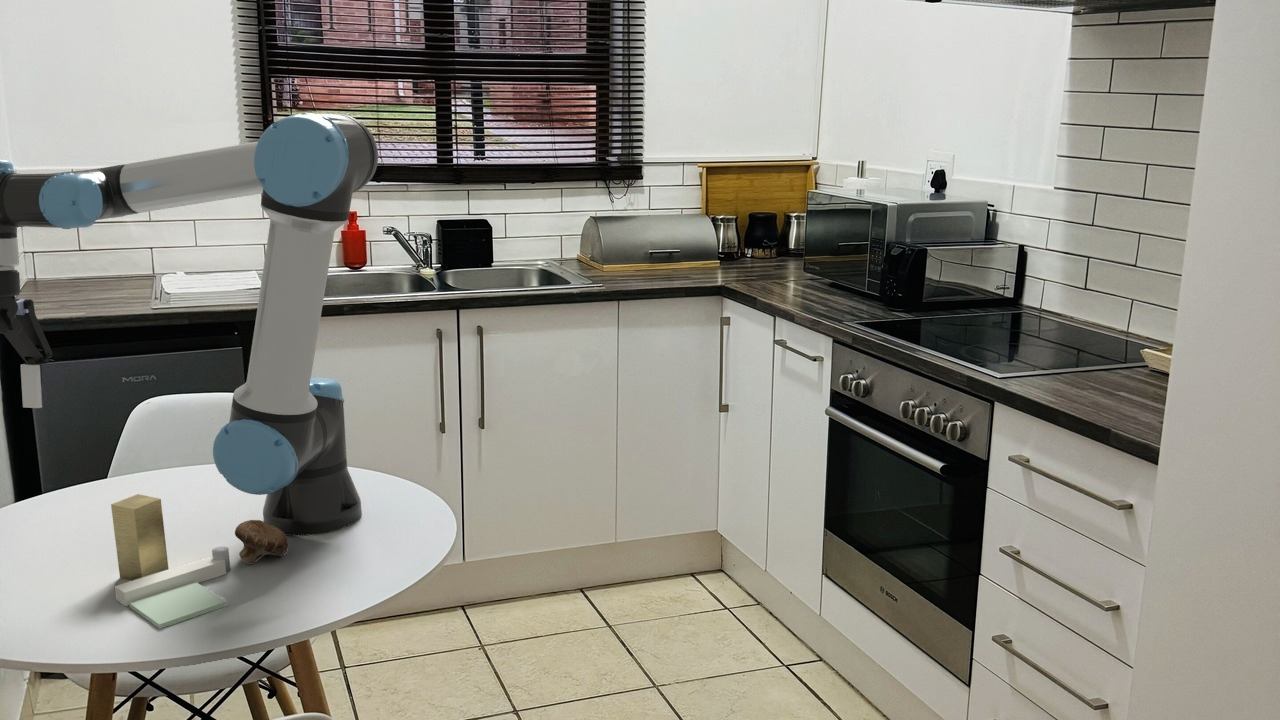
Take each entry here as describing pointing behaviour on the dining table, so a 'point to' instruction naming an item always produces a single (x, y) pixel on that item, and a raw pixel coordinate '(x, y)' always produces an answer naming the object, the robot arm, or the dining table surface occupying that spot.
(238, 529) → the mushroom
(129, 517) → the block
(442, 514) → the dining table surface
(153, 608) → the plate
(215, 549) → the door edge
